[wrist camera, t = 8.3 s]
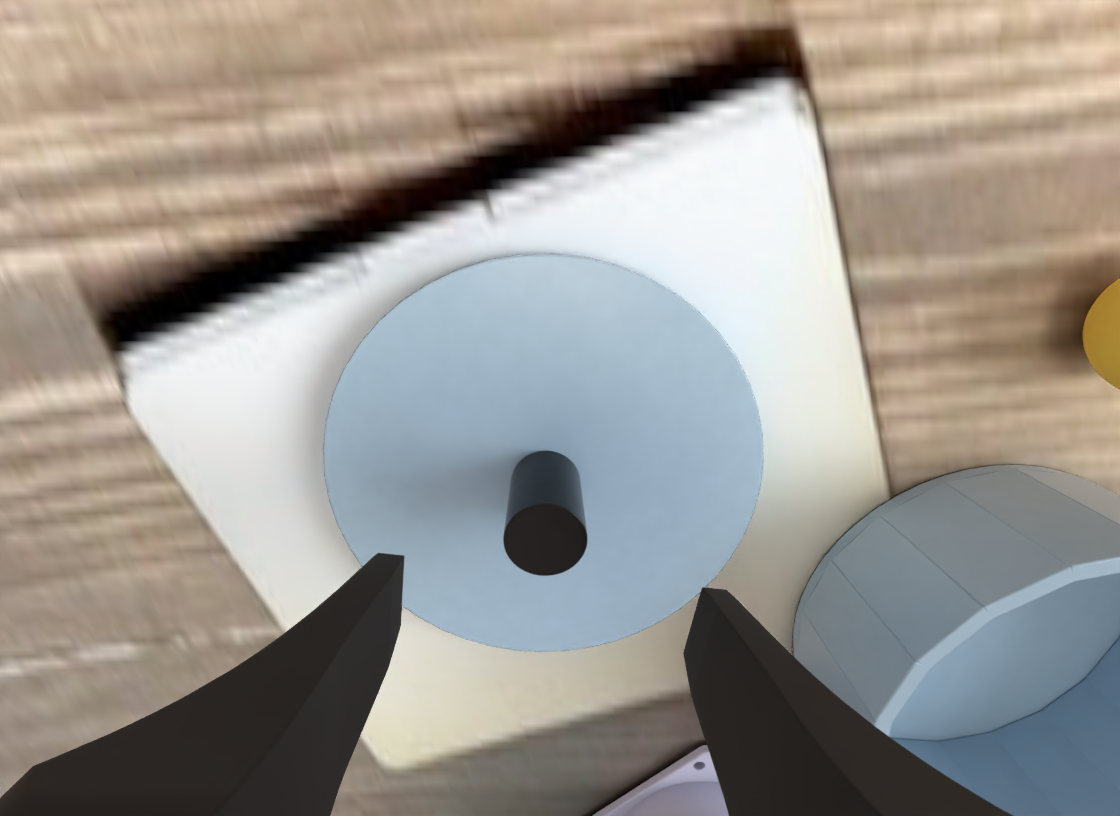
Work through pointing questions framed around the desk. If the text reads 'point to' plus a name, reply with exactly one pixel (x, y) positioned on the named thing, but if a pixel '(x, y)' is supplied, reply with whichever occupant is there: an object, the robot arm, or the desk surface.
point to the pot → (983, 633)
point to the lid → (544, 451)
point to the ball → (1104, 334)
